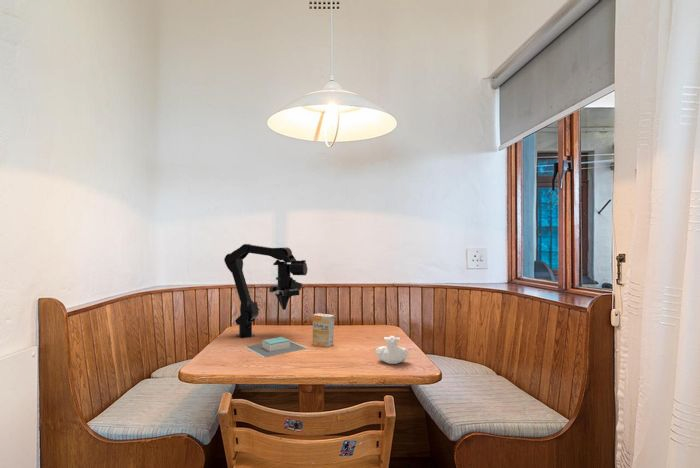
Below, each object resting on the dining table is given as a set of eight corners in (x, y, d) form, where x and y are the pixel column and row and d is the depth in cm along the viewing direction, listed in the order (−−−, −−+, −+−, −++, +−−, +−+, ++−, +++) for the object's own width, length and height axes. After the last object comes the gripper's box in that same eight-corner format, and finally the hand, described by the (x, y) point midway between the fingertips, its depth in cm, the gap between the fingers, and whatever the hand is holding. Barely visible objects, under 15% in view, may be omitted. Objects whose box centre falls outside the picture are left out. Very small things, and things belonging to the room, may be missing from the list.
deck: (262, 340, 154) (270, 343, 148) (281, 336, 160) (290, 340, 154) (262, 347, 154) (269, 351, 148) (281, 343, 159) (289, 347, 154)
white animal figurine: (375, 368, 138) (374, 349, 131) (376, 350, 144) (375, 331, 137) (408, 369, 136) (409, 350, 129) (408, 352, 142) (408, 333, 135)
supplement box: (311, 345, 159) (312, 314, 159) (317, 342, 163) (317, 312, 163) (328, 348, 155) (329, 316, 155) (334, 345, 159) (334, 314, 160)
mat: (243, 347, 155) (243, 346, 155) (286, 340, 167) (286, 339, 167) (263, 358, 141) (263, 357, 141) (308, 349, 153) (308, 348, 153)
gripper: (310, 275, 167) (310, 310, 167) (290, 272, 182) (290, 305, 182) (287, 277, 160) (287, 313, 160) (269, 274, 175) (269, 307, 175)
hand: (284, 309), depth 169 cm, fingers closed
